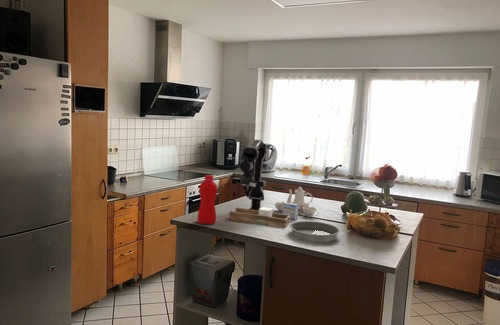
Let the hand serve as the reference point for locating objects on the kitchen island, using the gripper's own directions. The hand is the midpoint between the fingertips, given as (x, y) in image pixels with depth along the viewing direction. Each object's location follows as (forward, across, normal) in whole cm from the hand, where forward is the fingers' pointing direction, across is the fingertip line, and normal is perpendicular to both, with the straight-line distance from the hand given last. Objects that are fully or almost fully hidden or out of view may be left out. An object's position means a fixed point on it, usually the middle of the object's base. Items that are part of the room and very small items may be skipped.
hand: (247, 197), depth 216 cm
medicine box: (+12, +22, +13) cm, 28 cm away
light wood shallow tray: (+12, +8, -1) cm, 14 cm away
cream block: (+10, +11, -1) cm, 15 cm away
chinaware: (+12, +23, +28) cm, 38 cm away
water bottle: (+12, -16, -19) cm, 27 cm away
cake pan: (+12, +40, -14) cm, 44 cm away
